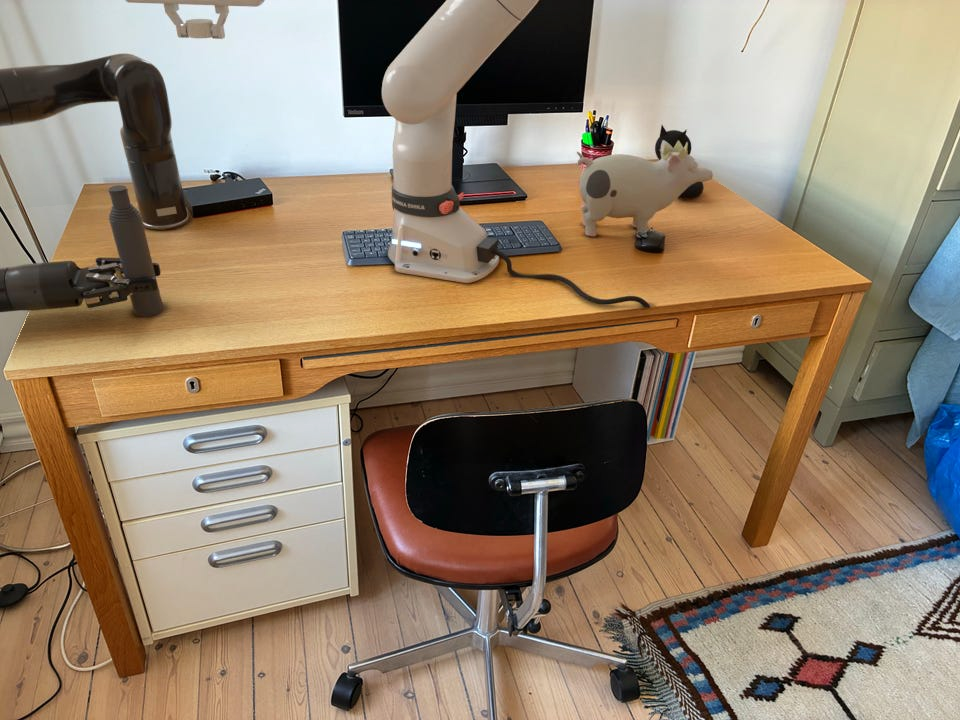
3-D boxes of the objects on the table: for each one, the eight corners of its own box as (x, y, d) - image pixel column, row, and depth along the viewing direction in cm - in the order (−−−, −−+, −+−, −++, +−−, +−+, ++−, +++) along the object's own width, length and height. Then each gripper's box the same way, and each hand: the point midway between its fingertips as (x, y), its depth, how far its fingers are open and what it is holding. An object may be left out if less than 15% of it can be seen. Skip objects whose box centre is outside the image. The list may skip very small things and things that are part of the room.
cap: (194, 39, 104) (191, 24, 103) (183, 35, 107) (181, 20, 106) (219, 36, 107) (217, 21, 105) (208, 32, 109) (206, 17, 108)
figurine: (703, 243, 153) (724, 151, 141) (570, 238, 152) (580, 145, 141) (692, 224, 161) (711, 135, 150) (566, 219, 161) (576, 130, 150)
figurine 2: (633, 187, 180) (643, 126, 171) (662, 174, 188) (673, 116, 180) (689, 205, 171) (702, 142, 162) (717, 191, 179) (731, 131, 171)
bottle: (130, 308, 123) (97, 186, 110) (158, 300, 125) (128, 180, 113) (139, 319, 120) (106, 195, 108) (167, 311, 122) (137, 189, 110)
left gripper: (27, 286, 108) (149, 275, 112) (47, 246, 119) (157, 238, 123) (43, 328, 112) (159, 316, 116) (60, 286, 123) (166, 276, 127)
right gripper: (263, -69, 102) (276, 35, 110) (118, -74, 101) (141, 31, 109) (253, -66, 97) (267, 43, 105) (99, -72, 96) (125, 39, 104)
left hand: (157, 276), depth 120 cm, fingers closed on bottle, 4 cm apart
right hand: (201, 37), depth 107 cm, fingers closed on cap, 4 cm apart
